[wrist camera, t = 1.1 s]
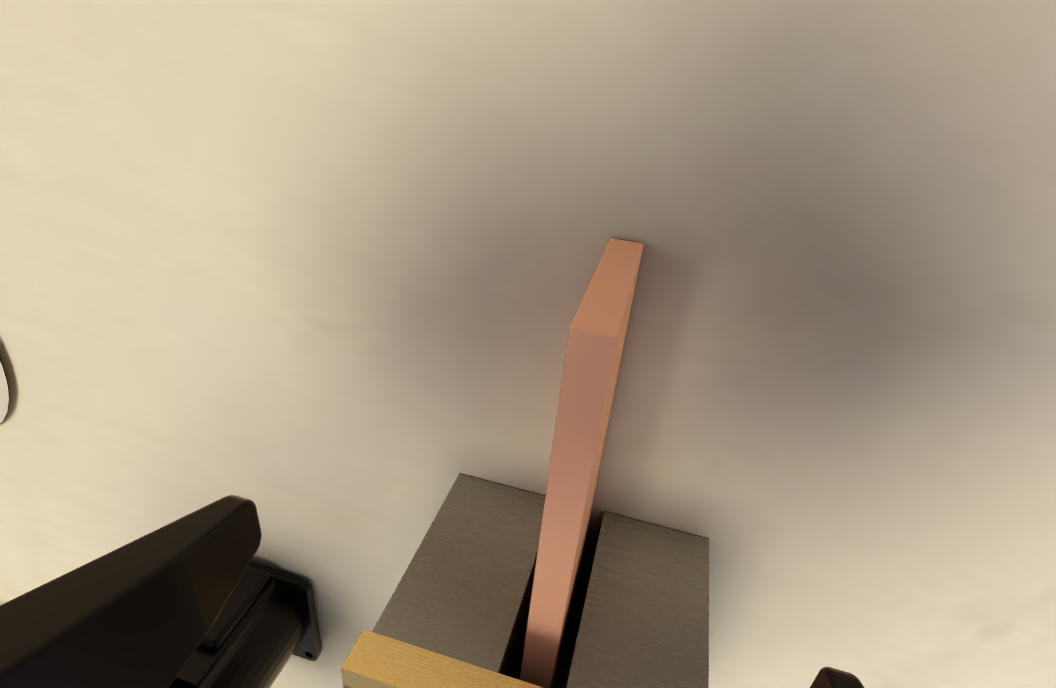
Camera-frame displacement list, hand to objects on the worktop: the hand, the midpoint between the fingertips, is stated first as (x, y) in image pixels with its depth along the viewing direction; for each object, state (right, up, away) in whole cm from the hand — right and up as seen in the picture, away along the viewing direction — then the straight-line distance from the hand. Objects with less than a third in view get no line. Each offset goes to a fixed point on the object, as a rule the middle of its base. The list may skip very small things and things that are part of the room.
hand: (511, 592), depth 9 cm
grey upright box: (+2, -6, +16) cm, 17 cm away
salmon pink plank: (+2, -1, +13) cm, 13 cm away
